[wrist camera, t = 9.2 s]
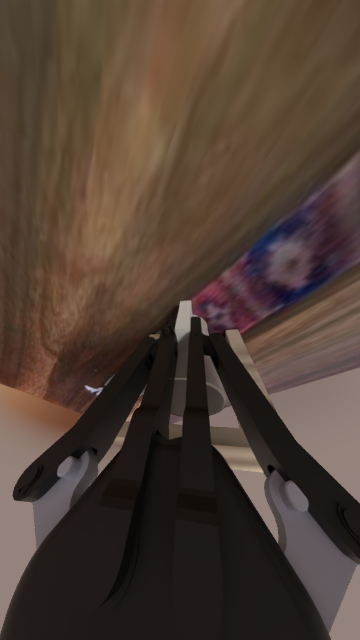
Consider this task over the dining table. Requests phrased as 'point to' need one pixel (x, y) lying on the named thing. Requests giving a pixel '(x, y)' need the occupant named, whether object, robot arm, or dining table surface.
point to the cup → (213, 383)
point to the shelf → (222, 438)
